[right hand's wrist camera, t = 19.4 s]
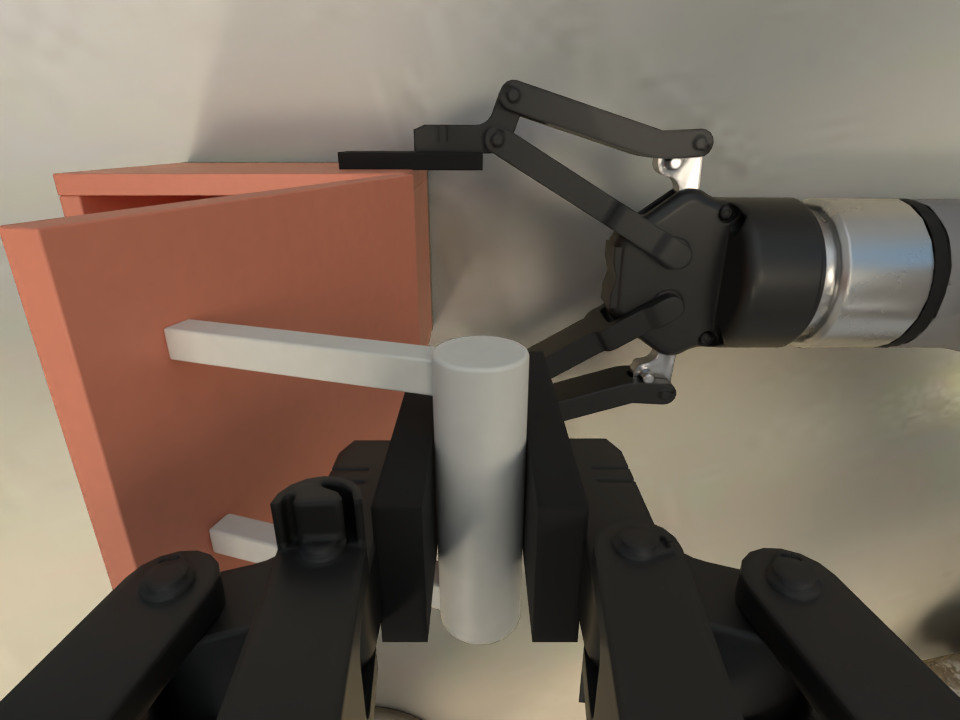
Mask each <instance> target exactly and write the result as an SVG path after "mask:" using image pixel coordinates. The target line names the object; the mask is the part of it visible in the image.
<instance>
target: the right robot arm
mask: <svg viewBox="0 0 960 720" xmlns="http://www.w3.org/2000/svg"><path fill="white" fill-rule="evenodd" d="M528 353H529V379H528V407H527V436H526V464H525V492H524V521H523V557H524V566H525V576H526V585H527V595H528V605H529V614H530V624H531V634H532V642H577V641H578V630H579V621H580V626H581V631H582V636H583V640H584V652H583V663H582V674H581V684H580V695H579V702H583V703H585V707H586V718H587V720H960V697H959V696H958V695H957V694H956V693H955V692H954V691H953V690H952V689H951V688H950V687H949V686H947V685H946V684H945V683H944V682H943V681H942V680H941V679H940V678H939V677H938V676H937V675H936V674H935V673H934V672H933V671H932V670H931V669H930V668H929V667H928V666H927V665H926V664H925V663H924V662H923V661H922V660H921V659H920V658H919V657H918V656H917V655H916V654H915V653H914V652H913V651H912V650H911V649H910V648H909V647H908V646H907V645H906V644H905V643H904V642H903V641H902V640H901V639H900V638H899V637H898V636H897V635H896V634H895V633H894V632H892V631H891V630H890V629H889V628H888V627H887V626H886V625H885V624H884V623H883V622H882V621H881V620H880V619H879V618H878V617H877V616H876V615H875V614H874V613H873V612H872V611H871V610H870V609H869V608H868V607H867V606H866V605H865V604H864V603H863V602H862V601H861V600H860V599H859V598H858V597H857V596H856V595H855V594H854V593H853V592H852V591H851V590H850V589H849V588H848V587H847V586H846V585H845V584H844V583H843V582H842V581H841V580H840V579H838V578H837V577H836V576H835V575H834V574H833V573H832V572H830V571H829V570H828V569H826V568H825V567H824V566H823V565H821V564H820V563H818V562H816V561H814V560H812V559H810V558H808V557H806V556H804V555H802V554H799V553H795V552H792V551H788V550H784V549H775V548H762V549H759V550H755V551H752V552H749V553H748V555H747V556H746V557H745V558H744V559H743V560H742V563H741V568H740V569H735V568H731V567H727V566H722V565H718V564H713V563H709V562H705V561H702V560H699V559H695V558H693V557H690V556H688V555H686V554H684V552H683V549H682V547H681V546H680V544H679V543H678V541H677V540H676V538H675V537H674V536H673V535H671V534H670V533H669V532H667V531H666V530H665V529H663V528H662V527H659V526H657V525H654V522H653V520H652V518H651V516H650V514H649V511H648V509H647V507H646V505H645V503H644V500H643V498H642V496H641V494H640V491H639V489H638V487H637V485H636V483H635V482H634V478H633V476H632V474H631V472H630V469H628V465H627V463H626V460H625V458H624V456H623V454H622V452H621V451H620V450H619V449H618V448H617V447H615V446H614V445H613V444H612V443H611V442H609V441H608V440H607V439H569V437H568V434H567V430H566V427H565V424H564V420H563V417H562V413H561V410H560V407H559V403H558V400H557V397H556V393H555V390H554V386H553V383H552V380H551V376H550V373H549V370H548V366H547V363H546V359H545V356H544V353H543V351H528ZM270 507H271V513H272V519H273V525H274V531H275V537H276V543H277V548H278V550H277V553H276V555H275V557H272V558H270V559H268V560H266V561H262V562H259V563H256V564H252V565H248V566H244V567H239V568H235V569H230V570H226V571H222V572H220V568H219V563H218V562H217V561H216V560H215V559H214V557H213V556H212V555H211V554H207V553H204V552H201V551H197V550H196V551H178V552H174V553H170V554H167V555H163V556H160V557H158V558H156V559H154V560H151V561H149V562H147V563H145V564H143V565H141V566H140V567H139V568H137V569H136V570H135V571H134V572H132V573H131V574H130V575H128V576H127V577H126V578H125V579H124V580H123V581H122V582H121V583H120V584H119V585H118V586H117V587H116V588H115V589H114V590H113V591H112V592H111V593H110V594H109V595H108V596H107V597H106V598H105V599H104V600H102V601H101V602H100V603H99V604H98V605H97V606H96V607H95V608H94V609H93V610H92V611H91V612H90V613H89V614H88V615H87V616H86V617H85V618H84V619H83V620H82V621H81V622H80V623H79V624H78V625H77V626H76V627H75V628H74V629H73V630H72V631H71V632H70V633H69V634H68V635H67V636H66V637H65V638H64V639H63V640H62V641H61V642H60V643H59V644H58V645H57V646H56V647H55V648H54V649H53V650H52V651H51V652H50V653H49V654H48V655H47V656H46V657H45V658H44V659H43V660H42V661H41V662H40V663H39V664H38V665H37V666H36V667H35V668H34V669H33V670H32V671H31V672H30V673H29V674H28V675H27V676H26V677H25V678H24V679H23V680H22V681H21V682H20V683H19V684H18V685H17V686H16V687H15V688H13V689H12V690H11V691H10V692H9V693H8V694H7V695H6V696H5V697H4V698H3V699H2V700H1V701H0V720H373V719H374V708H375V697H376V686H377V675H378V663H377V652H376V643H377V638H378V634H379V629H380V624H381V630H382V641H383V642H428V634H429V624H430V614H431V605H432V595H433V585H434V576H435V566H436V557H437V547H438V531H437V502H436V474H435V446H434V417H433V396H430V395H423V394H416V393H409V392H405V393H404V397H403V400H402V403H401V407H400V410H399V413H398V417H397V420H396V424H395V427H394V430H393V434H392V437H391V440H354V441H353V442H352V443H350V444H349V445H348V446H347V447H346V448H344V449H343V450H342V451H341V452H340V453H339V454H338V456H337V458H336V461H335V463H334V465H333V467H332V471H331V472H330V474H329V476H321V477H314V478H308V479H305V480H302V481H299V482H297V483H294V484H291V485H290V486H288V487H287V488H285V489H284V490H282V491H281V492H279V493H278V494H277V495H276V497H275V498H274V499H273V501H272V502H271V503H270Z"/></svg>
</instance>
